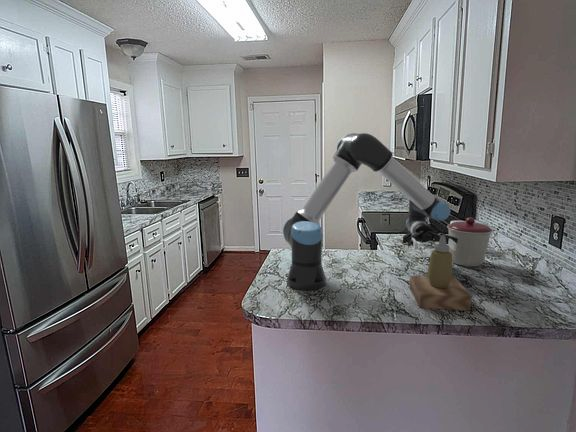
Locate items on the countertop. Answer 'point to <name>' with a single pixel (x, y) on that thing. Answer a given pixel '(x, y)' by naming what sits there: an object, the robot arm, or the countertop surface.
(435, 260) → the squeeze bottle
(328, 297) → the countertop surface
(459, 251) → the canister
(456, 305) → the walnut plinth
